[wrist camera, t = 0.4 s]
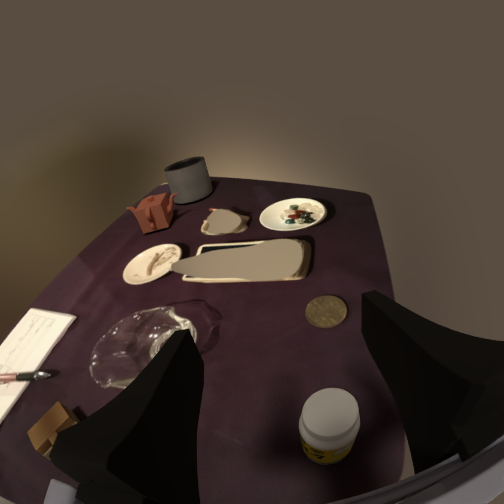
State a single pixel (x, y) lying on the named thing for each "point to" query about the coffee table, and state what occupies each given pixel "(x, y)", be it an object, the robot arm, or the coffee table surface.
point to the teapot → (154, 212)
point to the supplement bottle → (329, 425)
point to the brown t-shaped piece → (51, 428)
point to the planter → (189, 180)
